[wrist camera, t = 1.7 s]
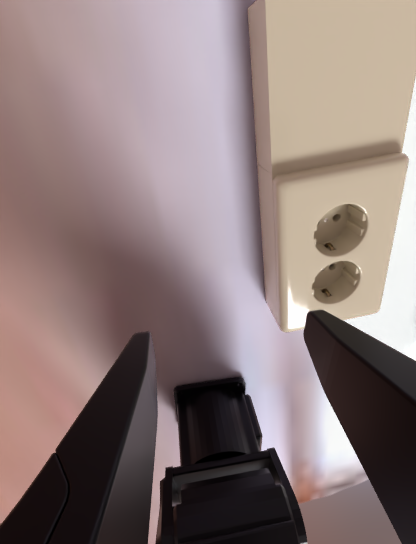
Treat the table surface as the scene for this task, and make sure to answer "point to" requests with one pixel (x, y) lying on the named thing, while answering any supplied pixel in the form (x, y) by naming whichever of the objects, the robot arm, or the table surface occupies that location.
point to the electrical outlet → (330, 148)
